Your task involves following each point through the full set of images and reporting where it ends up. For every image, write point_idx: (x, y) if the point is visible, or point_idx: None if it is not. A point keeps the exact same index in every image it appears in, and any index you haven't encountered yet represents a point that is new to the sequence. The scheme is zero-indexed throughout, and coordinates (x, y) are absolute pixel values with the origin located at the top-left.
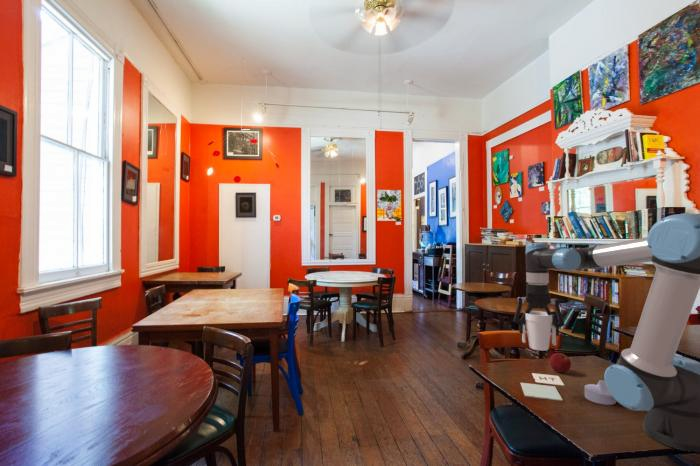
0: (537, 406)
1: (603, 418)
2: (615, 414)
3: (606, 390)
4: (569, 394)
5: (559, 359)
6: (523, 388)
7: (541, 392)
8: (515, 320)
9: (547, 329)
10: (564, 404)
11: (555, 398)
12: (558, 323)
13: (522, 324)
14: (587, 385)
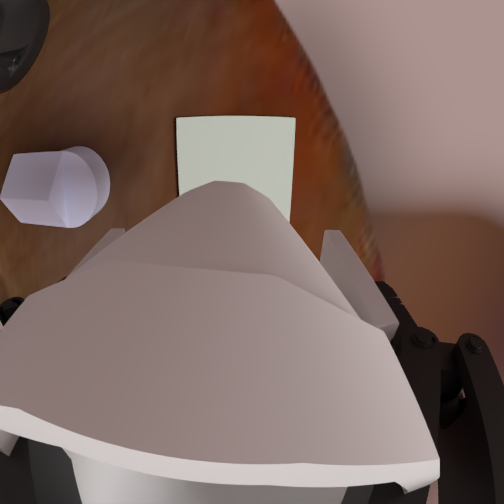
0: (268, 51)
1: (100, 49)
2: (67, 91)
3: (48, 165)
4: (147, 182)
5: None
6: (289, 175)
7: (233, 158)
8: (483, 354)
9: (104, 249)
10: (177, 94)
11: (196, 121)
12: None
13: (405, 336)
14: (89, 211)
